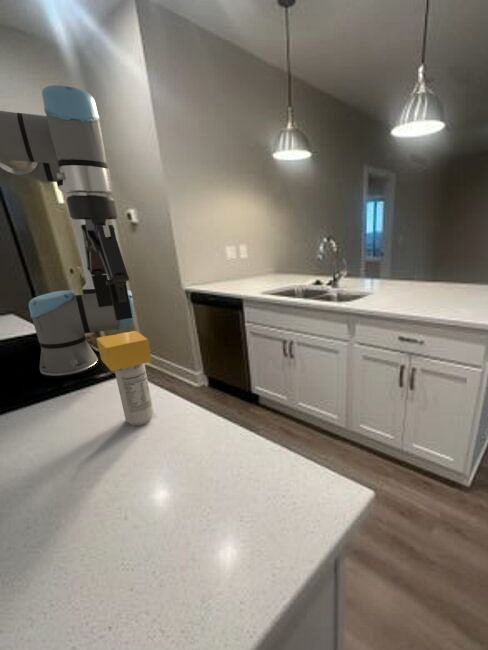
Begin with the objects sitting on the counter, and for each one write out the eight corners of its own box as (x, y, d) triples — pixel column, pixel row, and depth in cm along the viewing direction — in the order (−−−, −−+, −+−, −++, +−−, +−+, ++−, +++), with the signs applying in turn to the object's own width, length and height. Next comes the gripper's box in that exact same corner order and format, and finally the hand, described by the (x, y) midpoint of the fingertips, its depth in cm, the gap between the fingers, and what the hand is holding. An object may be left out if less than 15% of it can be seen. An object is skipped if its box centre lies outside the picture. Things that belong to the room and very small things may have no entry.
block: (101, 360, 74) (95, 338, 72) (139, 351, 79) (135, 330, 77) (111, 371, 69) (105, 348, 67) (151, 361, 73) (147, 339, 72)
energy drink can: (150, 410, 84) (139, 353, 78) (157, 421, 79) (146, 361, 74) (123, 418, 80) (110, 359, 75) (129, 430, 76) (115, 368, 70)
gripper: (54, 198, 68) (80, 304, 76) (79, 190, 50) (110, 329, 58) (96, 199, 72) (117, 299, 80) (133, 192, 55) (155, 321, 63)
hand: (114, 312), depth 69 cm, fingers open, 13 cm apart
